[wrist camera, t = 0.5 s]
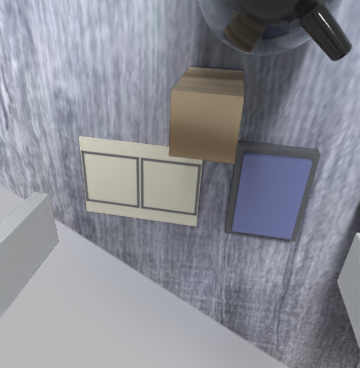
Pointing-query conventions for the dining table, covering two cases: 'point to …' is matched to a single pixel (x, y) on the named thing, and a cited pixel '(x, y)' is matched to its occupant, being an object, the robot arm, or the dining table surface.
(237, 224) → the ink pad
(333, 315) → the dining table surface
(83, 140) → the tag card
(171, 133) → the tall wooden block
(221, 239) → the dining table surface
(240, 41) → the pump dispenser
